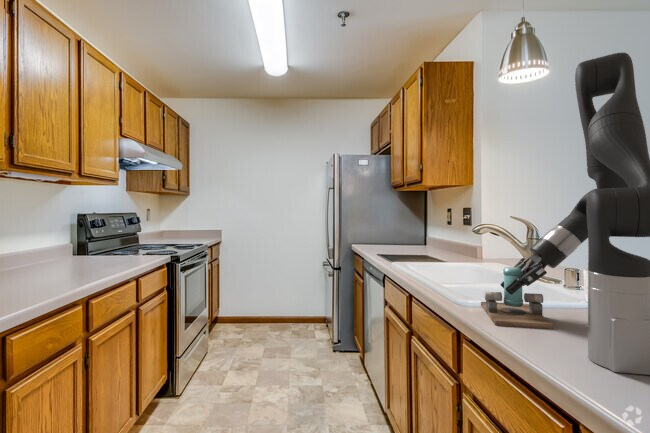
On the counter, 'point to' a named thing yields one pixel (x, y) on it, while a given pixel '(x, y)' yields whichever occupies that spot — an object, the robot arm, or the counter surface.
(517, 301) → the cylinder
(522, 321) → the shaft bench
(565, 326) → the counter surface
